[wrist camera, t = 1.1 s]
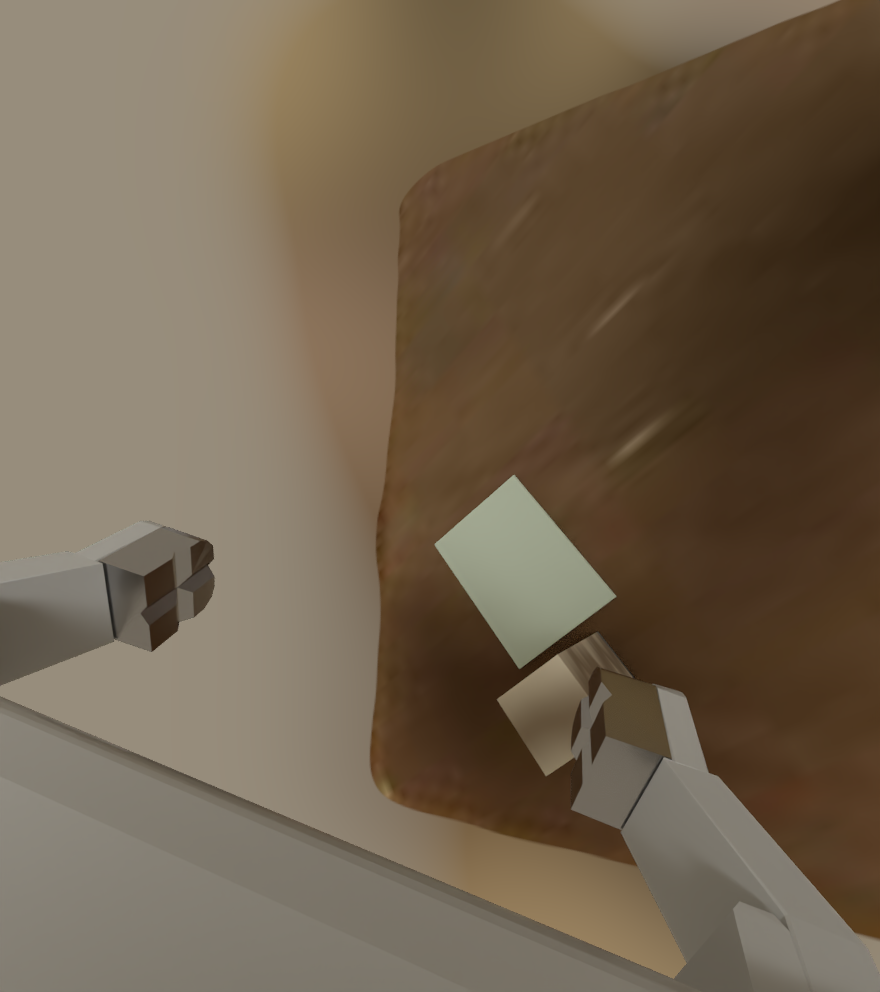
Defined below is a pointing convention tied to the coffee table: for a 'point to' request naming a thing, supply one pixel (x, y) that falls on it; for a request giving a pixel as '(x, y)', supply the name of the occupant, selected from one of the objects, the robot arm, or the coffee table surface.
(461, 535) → the sage mat
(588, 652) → the maple block
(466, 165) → the coffee table surface
